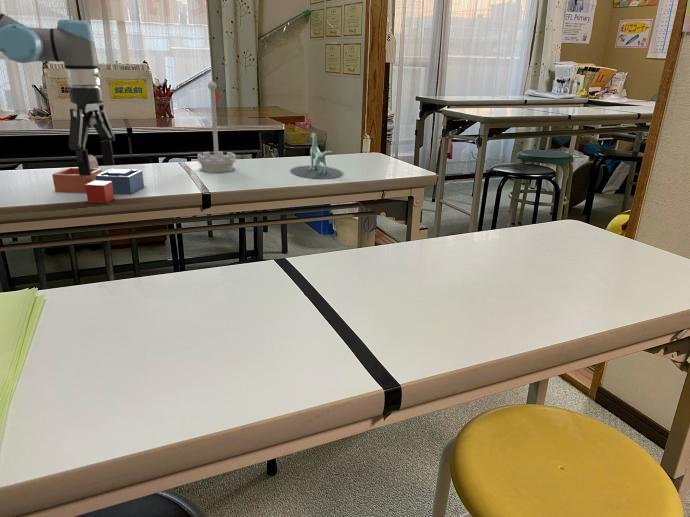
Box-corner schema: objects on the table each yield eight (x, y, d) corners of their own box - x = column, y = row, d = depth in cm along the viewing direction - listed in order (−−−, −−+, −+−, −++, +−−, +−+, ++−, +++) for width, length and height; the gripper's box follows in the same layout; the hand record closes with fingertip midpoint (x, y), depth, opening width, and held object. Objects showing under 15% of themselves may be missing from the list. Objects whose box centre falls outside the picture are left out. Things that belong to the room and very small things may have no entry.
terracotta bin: (55, 191, 149) (52, 174, 147) (72, 184, 158) (69, 167, 156) (88, 192, 149) (85, 175, 147) (103, 185, 158) (101, 168, 156)
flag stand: (224, 174, 177) (218, 82, 166) (191, 171, 181) (184, 81, 170) (242, 167, 189) (238, 81, 178) (211, 164, 192) (205, 80, 182)
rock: (89, 183, 159) (85, 160, 157) (78, 175, 170) (74, 153, 167) (109, 181, 163) (105, 158, 160) (97, 173, 173) (94, 152, 171)
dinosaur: (353, 178, 177) (354, 139, 172) (304, 181, 170) (304, 141, 166) (328, 164, 198) (328, 130, 194) (283, 167, 192) (283, 131, 187)
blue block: (109, 189, 151) (107, 172, 149) (117, 185, 155) (115, 169, 154) (126, 190, 151) (124, 173, 149) (133, 186, 155) (131, 169, 154)
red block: (87, 202, 139) (85, 184, 137) (96, 198, 144) (94, 180, 142) (106, 203, 139) (103, 185, 137) (114, 198, 144) (112, 181, 142)
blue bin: (97, 193, 149) (95, 175, 147) (112, 185, 158) (110, 169, 156) (131, 194, 149) (128, 176, 147) (144, 186, 158) (142, 170, 156)
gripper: (74, 90, 119) (89, 180, 127) (120, 84, 142) (130, 161, 150) (41, 89, 119) (59, 179, 127) (93, 84, 142) (105, 160, 150)
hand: (97, 170), depth 138 cm, fingers open, 13 cm apart
